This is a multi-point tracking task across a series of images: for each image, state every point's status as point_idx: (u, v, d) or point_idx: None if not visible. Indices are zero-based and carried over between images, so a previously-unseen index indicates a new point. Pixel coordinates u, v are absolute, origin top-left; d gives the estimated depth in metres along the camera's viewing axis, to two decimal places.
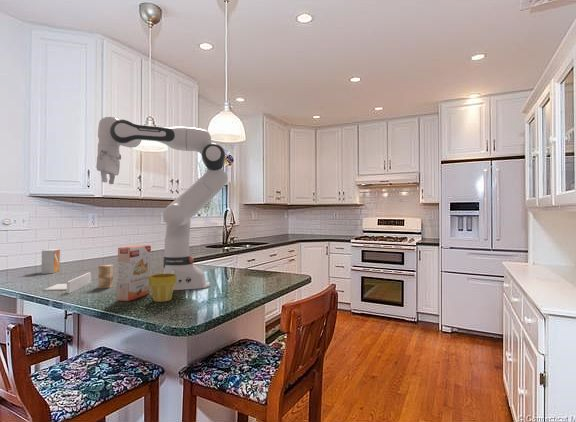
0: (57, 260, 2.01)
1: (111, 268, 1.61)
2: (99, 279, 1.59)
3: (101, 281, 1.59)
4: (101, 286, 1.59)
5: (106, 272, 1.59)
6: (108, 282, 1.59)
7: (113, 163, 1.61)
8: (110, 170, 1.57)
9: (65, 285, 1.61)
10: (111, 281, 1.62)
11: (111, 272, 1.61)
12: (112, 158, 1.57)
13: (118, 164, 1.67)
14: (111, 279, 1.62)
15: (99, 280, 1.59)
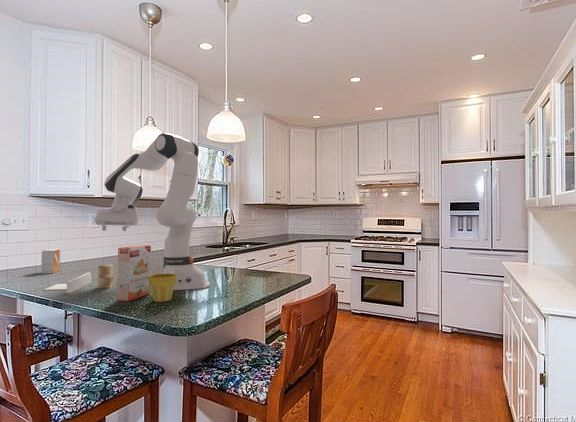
0: (57, 260, 2.01)
1: (111, 268, 1.61)
2: (99, 279, 1.59)
3: (101, 281, 1.59)
4: (101, 286, 1.59)
5: (106, 272, 1.59)
6: (108, 282, 1.59)
7: (122, 214, 1.79)
8: (109, 219, 1.75)
9: (65, 285, 1.61)
10: (111, 281, 1.62)
11: (111, 272, 1.61)
12: (113, 210, 1.79)
13: (133, 213, 1.80)
14: (111, 279, 1.62)
15: (99, 280, 1.59)
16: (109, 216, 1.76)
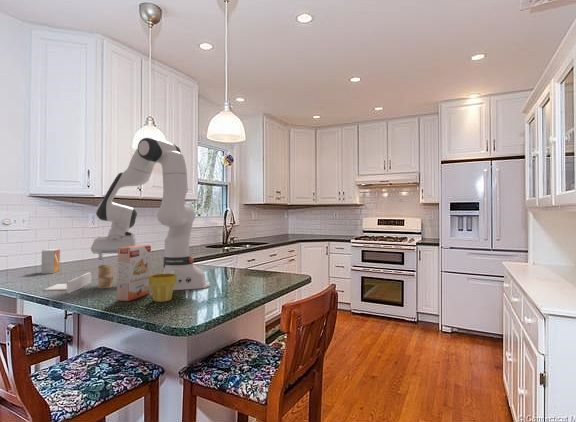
0: (57, 260, 2.01)
1: (111, 268, 1.61)
2: (99, 279, 1.59)
3: (101, 281, 1.59)
4: (101, 286, 1.59)
5: (106, 272, 1.59)
6: (108, 282, 1.59)
7: (119, 242, 1.74)
8: (106, 247, 1.70)
9: (65, 285, 1.61)
10: (111, 281, 1.62)
11: (111, 272, 1.61)
12: (110, 238, 1.74)
13: (131, 240, 1.75)
14: (111, 279, 1.62)
15: (99, 280, 1.59)
16: (106, 244, 1.71)
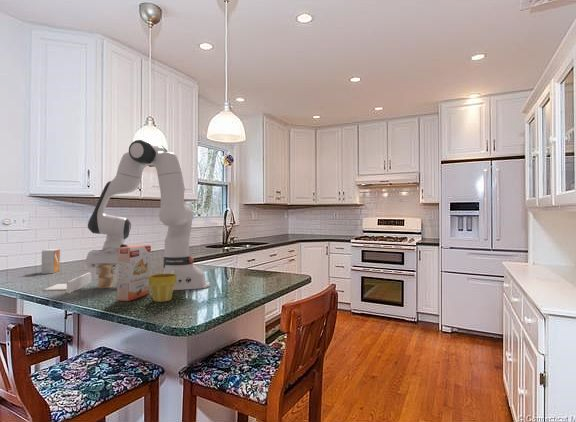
0: (57, 260, 2.01)
1: (111, 268, 1.61)
2: (99, 279, 1.59)
3: (101, 281, 1.59)
4: (101, 286, 1.59)
5: (106, 272, 1.59)
6: (108, 282, 1.59)
7: (114, 255, 1.67)
8: (100, 261, 1.63)
9: (65, 285, 1.61)
10: (111, 281, 1.62)
11: None
12: (105, 251, 1.66)
13: None
14: (111, 279, 1.62)
15: (99, 280, 1.59)
16: (100, 258, 1.64)
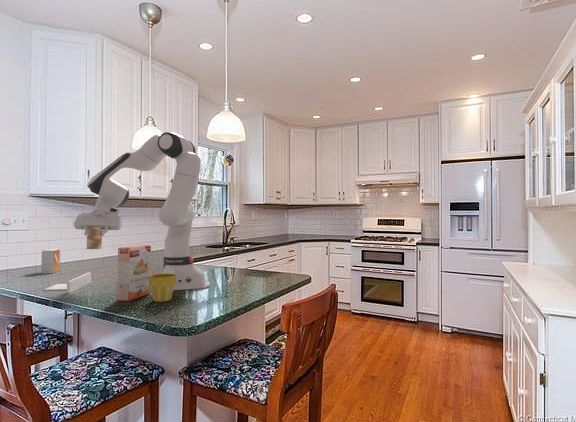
0: (57, 260, 2.01)
1: (100, 230, 1.61)
2: (87, 240, 1.59)
3: (89, 242, 1.59)
4: (89, 247, 1.59)
5: (95, 233, 1.59)
6: (97, 243, 1.59)
7: (103, 218, 1.66)
8: (89, 223, 1.62)
9: (65, 285, 1.61)
10: (100, 243, 1.61)
11: None
12: (94, 214, 1.66)
13: (116, 217, 1.67)
14: (100, 241, 1.61)
15: (87, 241, 1.59)
16: (89, 220, 1.64)
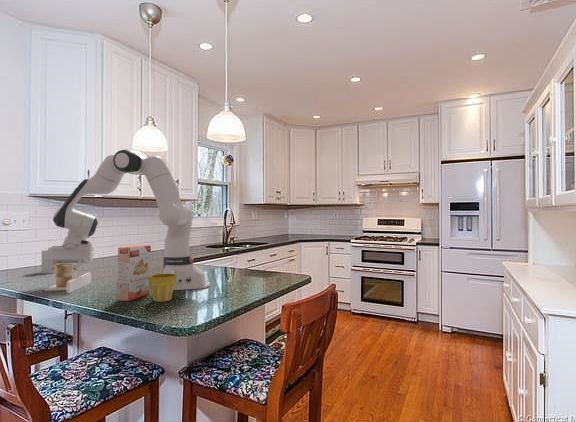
0: None
1: (70, 267, 1.59)
2: (57, 278, 1.57)
3: (59, 280, 1.57)
4: (59, 285, 1.57)
5: (64, 271, 1.57)
6: None
7: (74, 251, 1.64)
8: (59, 257, 1.60)
9: None
10: None
11: (70, 271, 1.59)
12: (65, 247, 1.64)
13: (87, 249, 1.65)
14: (70, 278, 1.59)
15: (57, 279, 1.57)
16: (59, 254, 1.62)
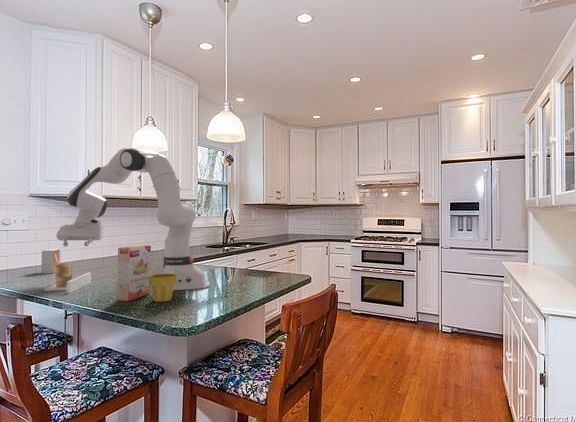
0: (57, 260, 2.01)
1: (70, 267, 1.59)
2: (57, 278, 1.57)
3: (59, 280, 1.57)
4: (59, 285, 1.57)
5: (64, 271, 1.57)
6: None
7: (85, 229, 1.77)
8: (71, 234, 1.73)
9: None
10: None
11: (70, 271, 1.59)
12: (76, 225, 1.77)
13: (97, 228, 1.78)
14: (70, 278, 1.59)
15: (57, 279, 1.57)
16: (71, 231, 1.74)
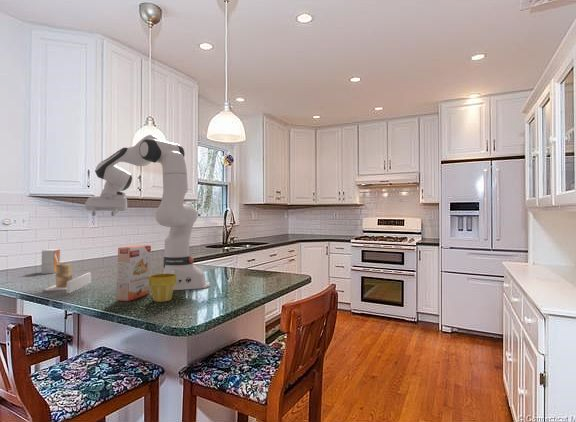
0: (57, 260, 2.01)
1: (70, 267, 1.59)
2: (57, 278, 1.57)
3: (59, 280, 1.57)
4: (59, 285, 1.57)
5: (64, 271, 1.57)
6: None
7: (111, 200, 1.86)
8: (99, 204, 1.82)
9: None
10: None
11: (70, 271, 1.59)
12: (103, 197, 1.86)
13: (122, 199, 1.87)
14: (70, 278, 1.59)
15: (57, 279, 1.57)
16: (99, 202, 1.83)
